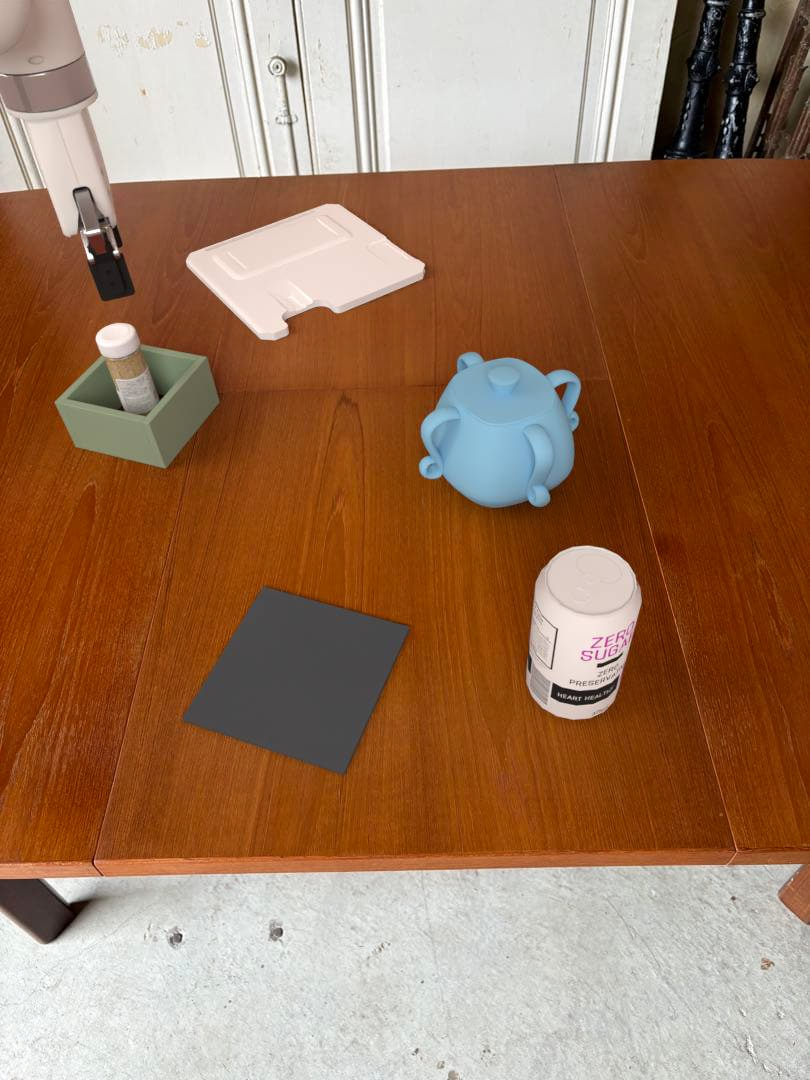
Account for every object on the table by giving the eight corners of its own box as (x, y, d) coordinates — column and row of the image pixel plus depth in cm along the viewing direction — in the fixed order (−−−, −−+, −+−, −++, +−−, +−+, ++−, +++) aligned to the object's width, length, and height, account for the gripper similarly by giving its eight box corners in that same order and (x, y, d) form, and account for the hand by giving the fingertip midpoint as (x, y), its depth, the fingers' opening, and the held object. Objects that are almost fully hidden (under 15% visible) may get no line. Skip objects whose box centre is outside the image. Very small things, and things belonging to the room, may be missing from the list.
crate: (75, 447, 100) (54, 402, 94) (134, 384, 108) (117, 339, 102) (166, 469, 96) (148, 423, 91) (220, 402, 104) (207, 356, 99)
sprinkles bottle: (135, 413, 103) (100, 321, 93) (170, 411, 103) (139, 320, 93) (127, 437, 100) (89, 345, 90) (163, 435, 100) (130, 343, 90)
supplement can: (552, 632, 78) (567, 525, 66) (632, 673, 74) (662, 568, 63) (508, 693, 73) (516, 591, 62) (591, 740, 70) (615, 640, 59)
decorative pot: (402, 493, 91) (394, 398, 81) (465, 409, 100) (465, 314, 90) (538, 541, 86) (548, 444, 75) (591, 447, 94) (607, 350, 84)
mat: (182, 720, 73) (181, 718, 73) (263, 588, 83) (263, 586, 83) (344, 775, 69) (344, 773, 69) (410, 629, 79) (409, 626, 79)
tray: (431, 275, 121) (430, 266, 120) (265, 344, 112) (263, 335, 111) (335, 207, 137) (334, 198, 136) (183, 263, 128) (180, 254, 127)
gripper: (-3, 59, 72) (67, 240, 85) (2, 130, 61) (82, 327, 74) (83, 44, 73) (139, 225, 86) (103, 111, 62) (164, 307, 75)
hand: (113, 272), depth 80 cm, fingers open, 9 cm apart
